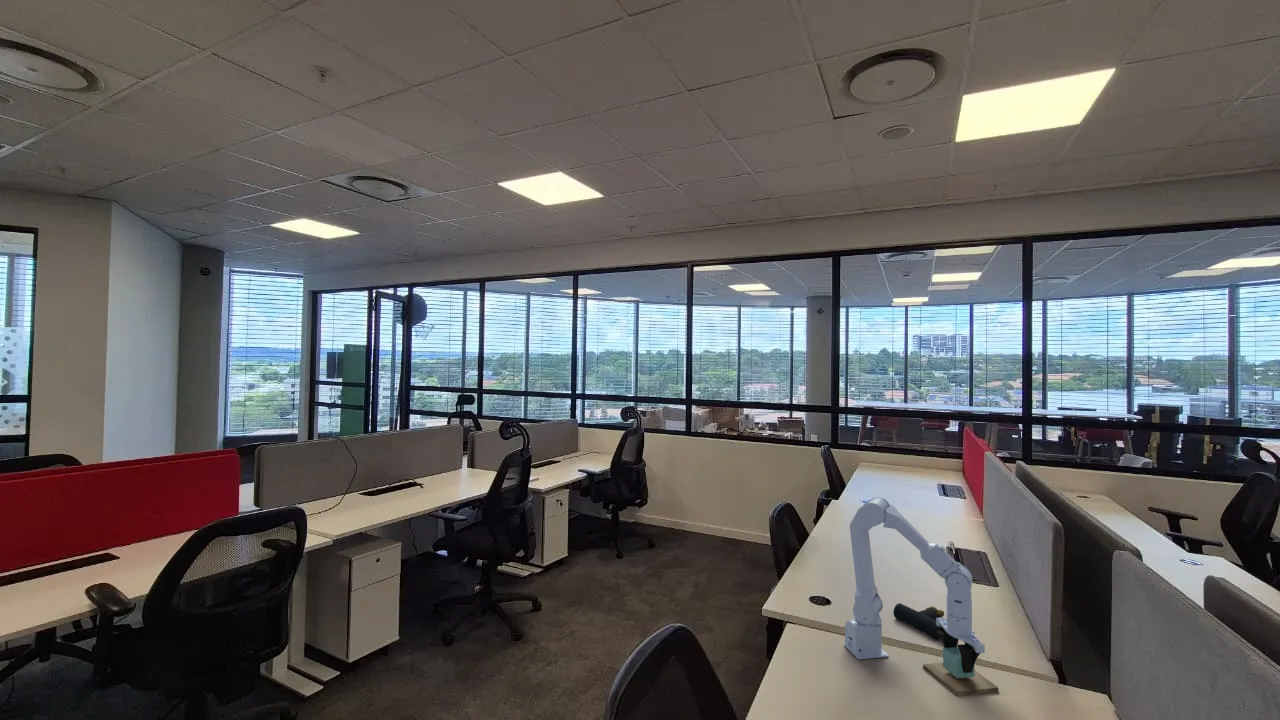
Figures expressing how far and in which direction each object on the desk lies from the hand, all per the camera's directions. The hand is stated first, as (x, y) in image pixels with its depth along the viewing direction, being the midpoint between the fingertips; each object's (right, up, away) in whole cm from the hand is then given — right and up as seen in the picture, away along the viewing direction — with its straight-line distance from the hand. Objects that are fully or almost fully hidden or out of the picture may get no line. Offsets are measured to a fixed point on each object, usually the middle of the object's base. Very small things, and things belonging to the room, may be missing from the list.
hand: (959, 665), depth 136 cm
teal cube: (0, -2, 0) cm, 2 cm away
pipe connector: (+7, -5, +28) cm, 30 cm away
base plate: (0, -4, 0) cm, 3 cm away
